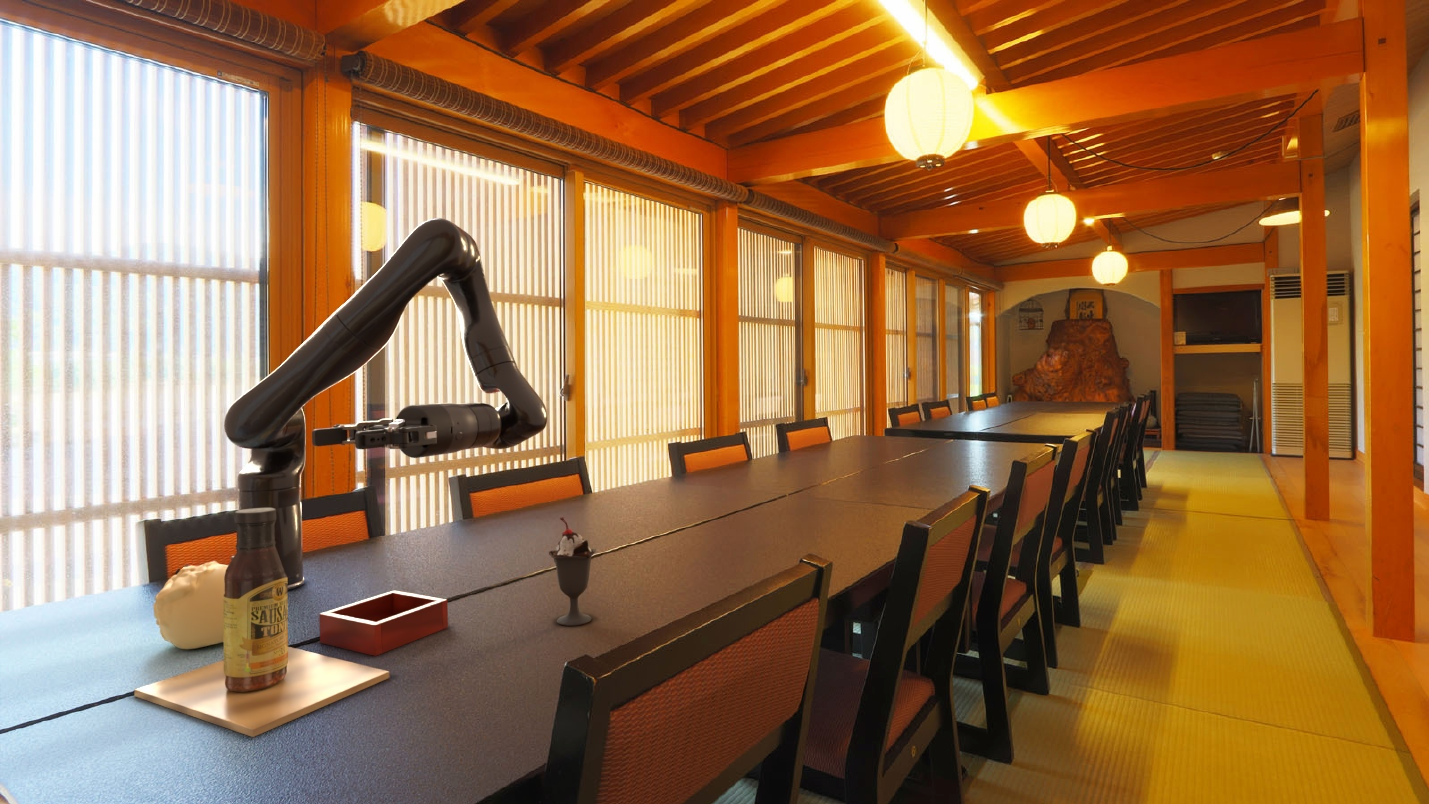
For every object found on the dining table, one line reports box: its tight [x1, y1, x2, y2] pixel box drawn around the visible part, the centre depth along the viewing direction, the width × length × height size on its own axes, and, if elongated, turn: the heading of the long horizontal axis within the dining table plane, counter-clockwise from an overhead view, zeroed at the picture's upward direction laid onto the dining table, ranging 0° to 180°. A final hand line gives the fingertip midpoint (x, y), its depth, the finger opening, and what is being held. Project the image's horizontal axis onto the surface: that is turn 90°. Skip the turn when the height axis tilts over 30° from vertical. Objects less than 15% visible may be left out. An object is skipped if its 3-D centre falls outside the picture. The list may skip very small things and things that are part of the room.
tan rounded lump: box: [152, 560, 229, 650], centre depth 100 cm, size 11×12×11 cm
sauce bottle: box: [223, 508, 289, 692], centre depth 84 cm, size 6×6×20 cm
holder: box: [318, 590, 449, 657], centre depth 102 cm, size 11×12×4 cm
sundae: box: [548, 516, 597, 627], centre depth 107 cm, size 7×7×15 cm
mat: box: [133, 646, 390, 738], centre depth 85 cm, size 22×16×1 cm
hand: (334, 439), depth 93 cm, fingers open, 8 cm apart
